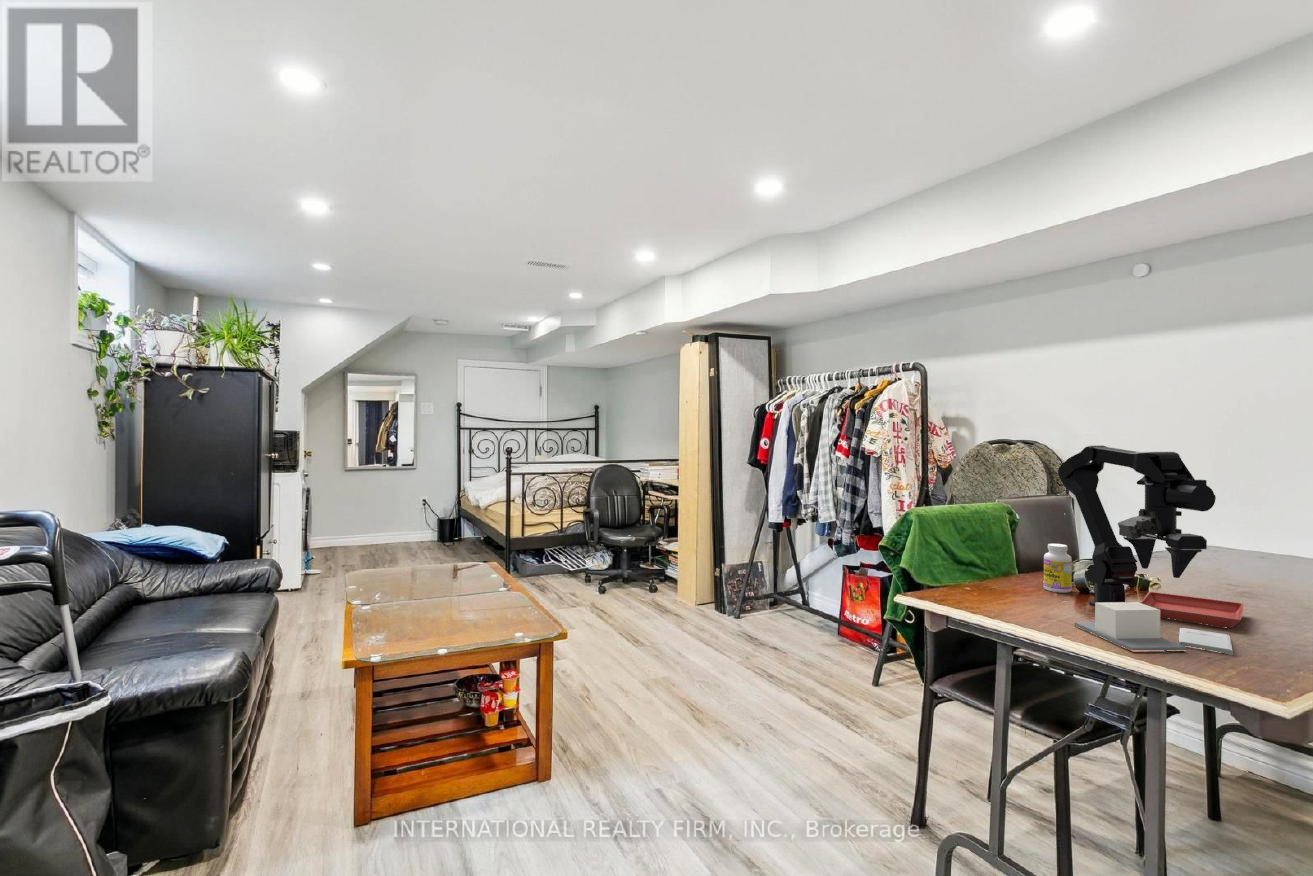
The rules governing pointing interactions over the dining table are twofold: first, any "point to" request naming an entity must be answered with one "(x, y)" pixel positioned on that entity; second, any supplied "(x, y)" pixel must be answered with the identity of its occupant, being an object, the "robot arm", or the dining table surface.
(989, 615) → the dining table surface
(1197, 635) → the external hard drive
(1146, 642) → the base plate
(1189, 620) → the plant saucer
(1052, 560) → the supplement bottle
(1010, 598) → the dining table surface
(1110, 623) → the block
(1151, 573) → the dining table surface
